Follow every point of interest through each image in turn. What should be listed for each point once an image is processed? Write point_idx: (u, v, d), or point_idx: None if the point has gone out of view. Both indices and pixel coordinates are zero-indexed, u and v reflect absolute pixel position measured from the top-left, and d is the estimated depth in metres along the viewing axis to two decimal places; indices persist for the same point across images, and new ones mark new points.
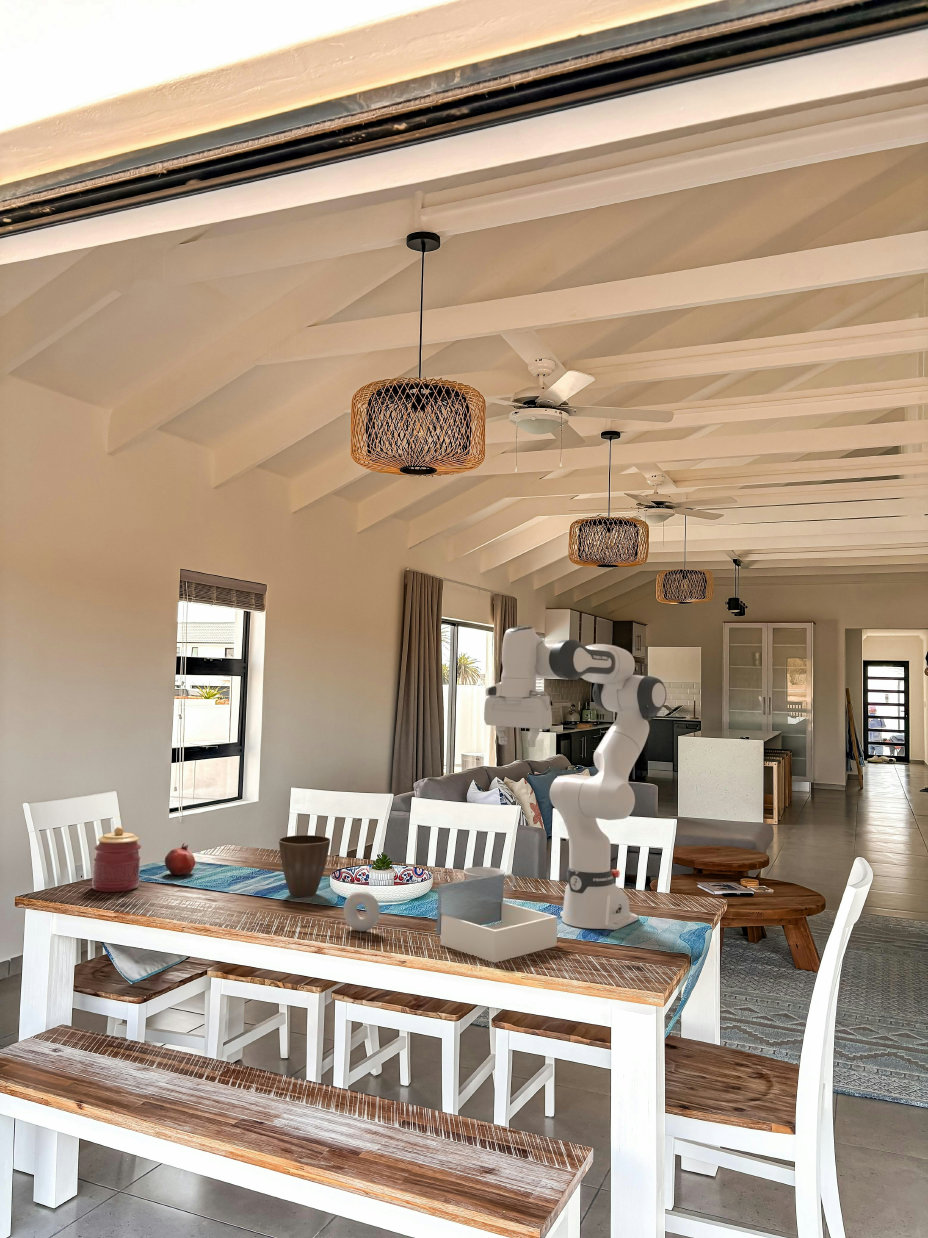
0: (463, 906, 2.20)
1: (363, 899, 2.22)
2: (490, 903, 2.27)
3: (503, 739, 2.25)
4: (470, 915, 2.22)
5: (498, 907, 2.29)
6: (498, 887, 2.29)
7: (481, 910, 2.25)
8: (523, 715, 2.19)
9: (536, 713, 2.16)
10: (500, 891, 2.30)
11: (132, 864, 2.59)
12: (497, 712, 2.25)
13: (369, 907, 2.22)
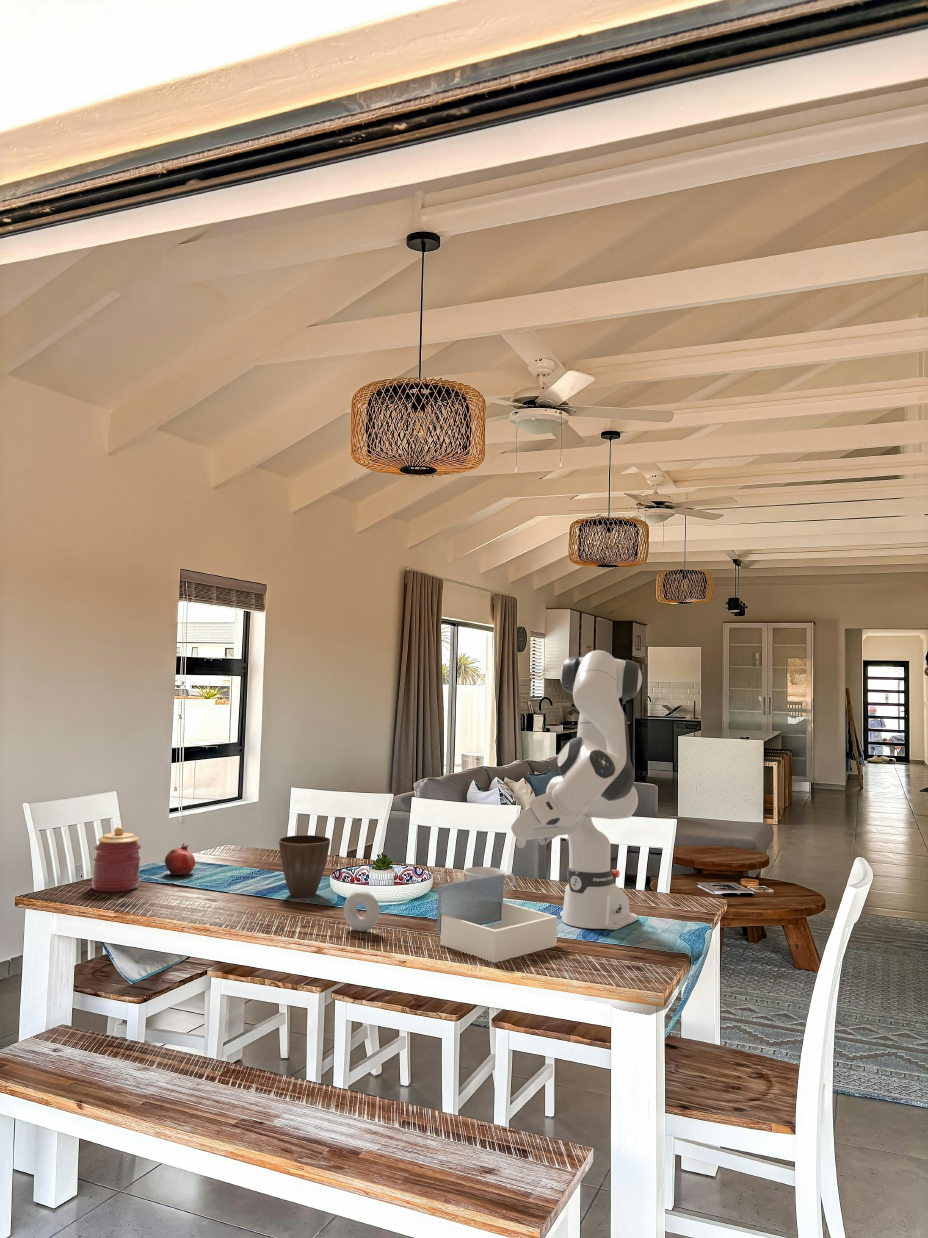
0: (463, 906, 2.20)
1: (363, 899, 2.22)
2: (490, 903, 2.27)
3: None
4: (470, 915, 2.22)
5: (498, 907, 2.29)
6: (498, 887, 2.29)
7: (481, 910, 2.25)
8: (562, 828, 2.09)
9: (575, 825, 2.12)
10: (500, 891, 2.30)
11: (132, 864, 2.59)
12: (538, 831, 2.03)
13: (369, 907, 2.22)
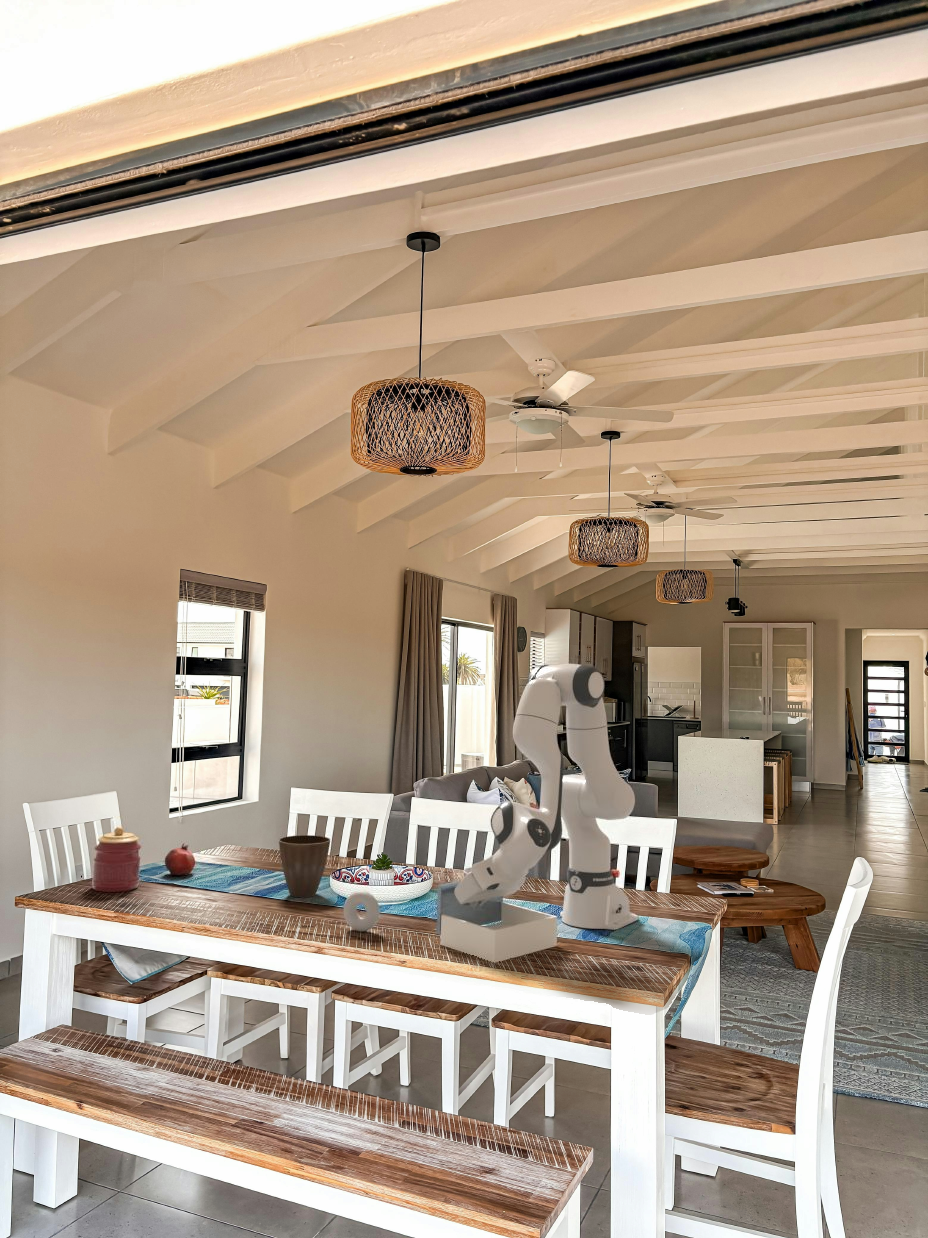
0: (462, 906, 2.20)
1: (363, 899, 2.22)
2: (490, 903, 2.27)
3: None
4: (469, 915, 2.22)
5: (497, 907, 2.29)
6: None
7: (481, 910, 2.25)
8: (504, 890, 2.20)
9: (517, 887, 2.23)
10: None
11: (132, 864, 2.59)
12: (479, 894, 2.14)
13: (369, 907, 2.22)
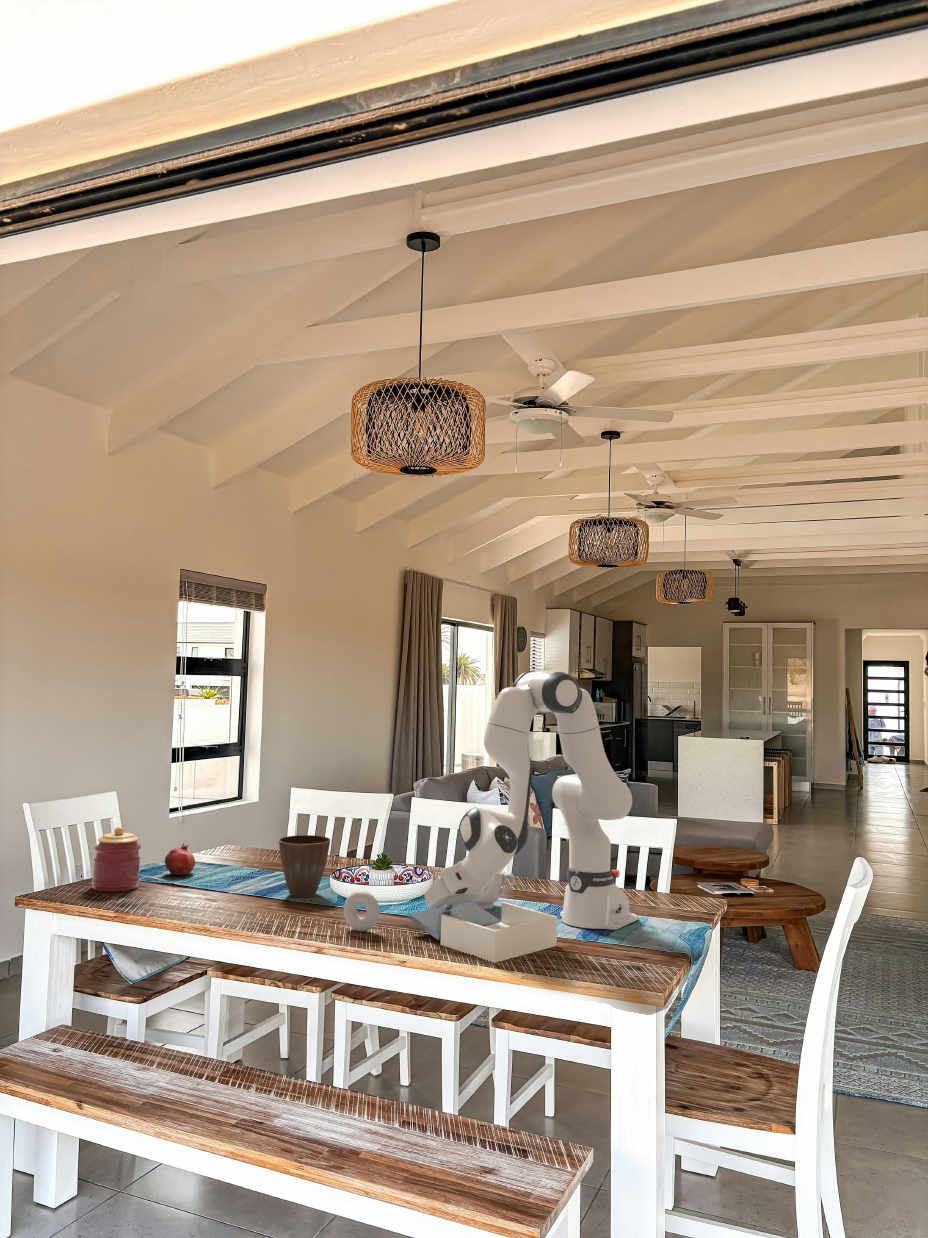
0: None
1: (363, 900, 2.22)
2: (475, 915, 2.30)
3: None
4: None
5: (487, 915, 2.31)
6: (474, 907, 2.35)
7: (469, 919, 2.27)
8: (474, 894, 2.28)
9: (486, 891, 2.30)
10: (479, 908, 2.35)
11: (132, 864, 2.59)
12: (449, 898, 2.21)
13: (369, 907, 2.22)
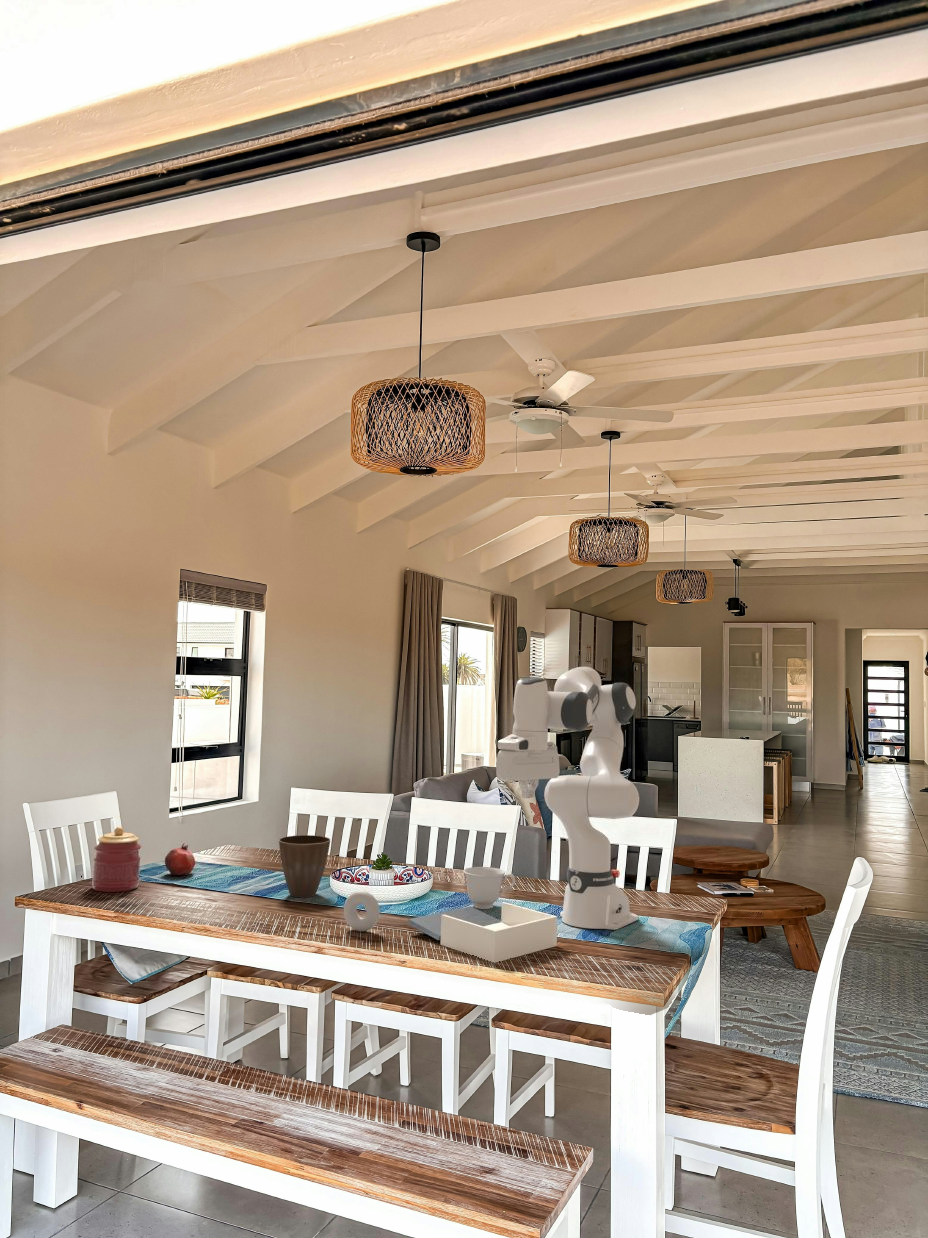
0: None
1: (363, 900, 2.22)
2: (475, 917, 2.30)
3: None
4: None
5: (486, 917, 2.31)
6: (473, 911, 2.35)
7: (469, 921, 2.27)
8: (544, 766, 2.23)
9: (555, 764, 2.26)
10: (478, 912, 2.35)
11: (132, 864, 2.59)
12: (520, 767, 2.17)
13: (369, 907, 2.22)
